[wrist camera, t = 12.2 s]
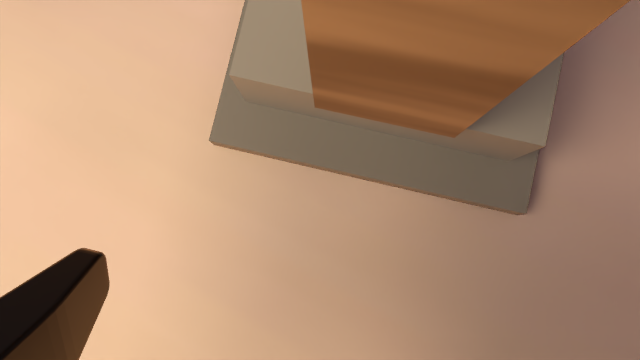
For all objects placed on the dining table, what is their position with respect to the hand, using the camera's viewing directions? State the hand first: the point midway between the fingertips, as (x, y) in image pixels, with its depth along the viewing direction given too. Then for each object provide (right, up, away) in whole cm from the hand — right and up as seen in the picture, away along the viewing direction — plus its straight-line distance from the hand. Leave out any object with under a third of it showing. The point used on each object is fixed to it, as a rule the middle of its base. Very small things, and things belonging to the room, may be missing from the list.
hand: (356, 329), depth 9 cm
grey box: (+2, +6, +12) cm, 14 cm away
